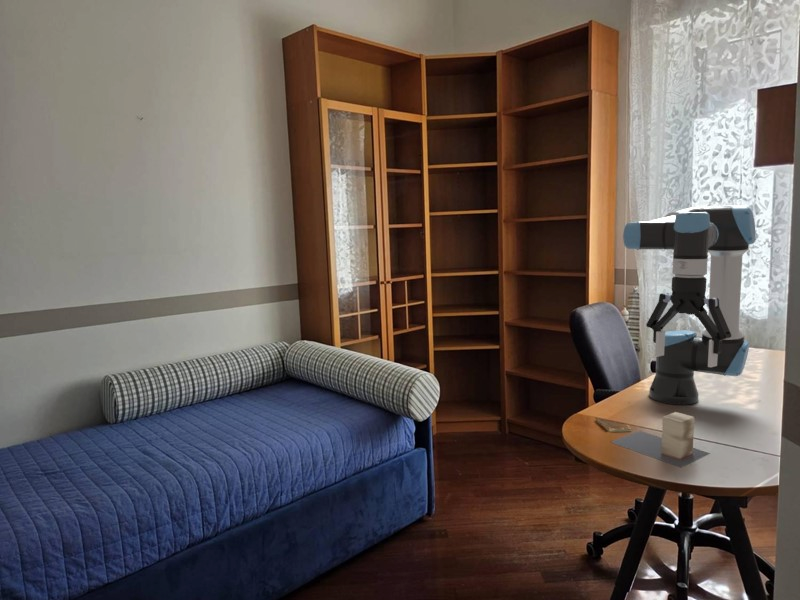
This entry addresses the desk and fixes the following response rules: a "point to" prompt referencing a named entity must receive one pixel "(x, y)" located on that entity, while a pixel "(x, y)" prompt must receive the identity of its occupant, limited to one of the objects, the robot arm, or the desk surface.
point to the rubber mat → (655, 448)
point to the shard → (613, 425)
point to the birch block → (677, 435)
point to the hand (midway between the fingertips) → (684, 361)
